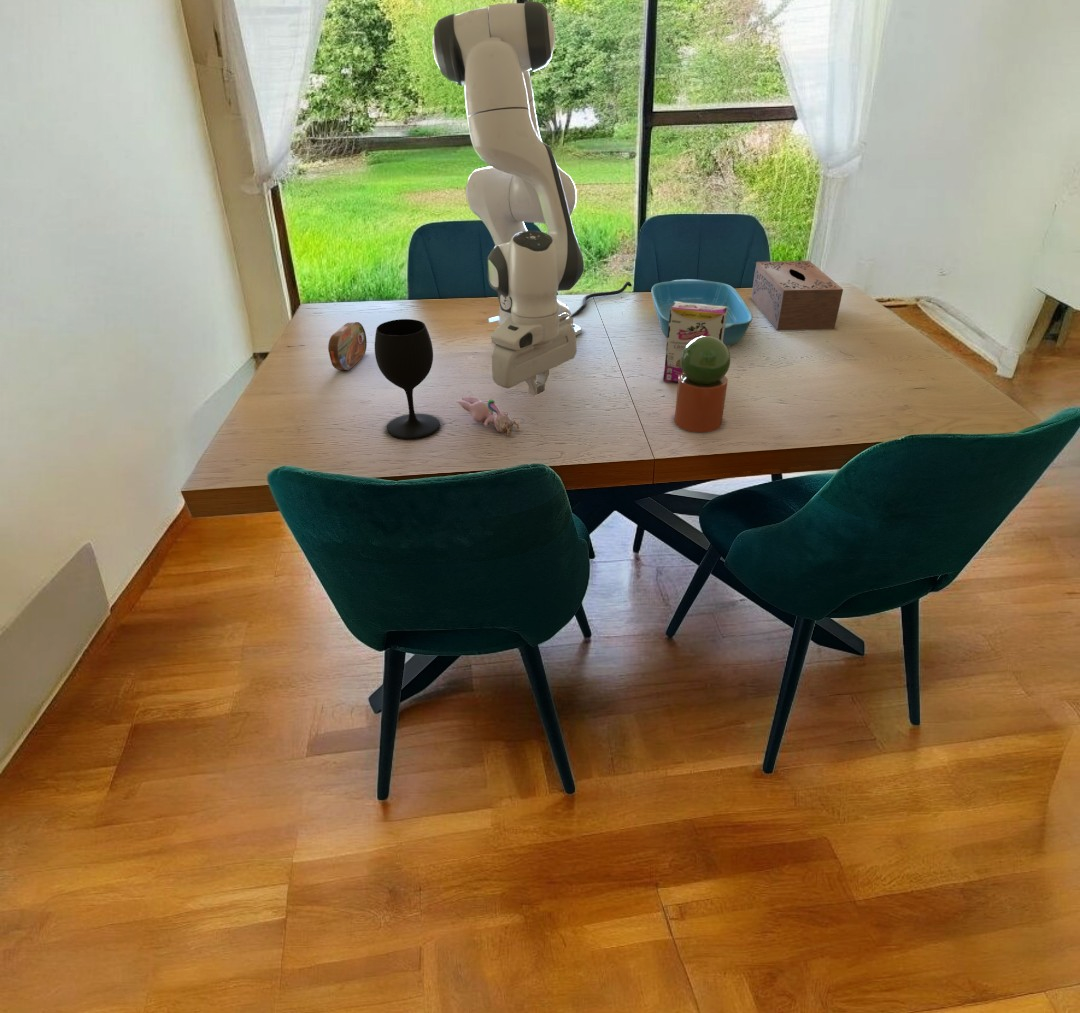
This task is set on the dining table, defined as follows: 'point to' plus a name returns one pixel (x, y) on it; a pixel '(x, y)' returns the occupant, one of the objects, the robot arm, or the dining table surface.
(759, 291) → the tissue box cover
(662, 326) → the casserole dish
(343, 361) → the tin
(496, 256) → the robot arm
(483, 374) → the dining table surface
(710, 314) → the candy bar box
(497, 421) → the rabbit figure
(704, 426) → the potted herb
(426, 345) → the wine glass
